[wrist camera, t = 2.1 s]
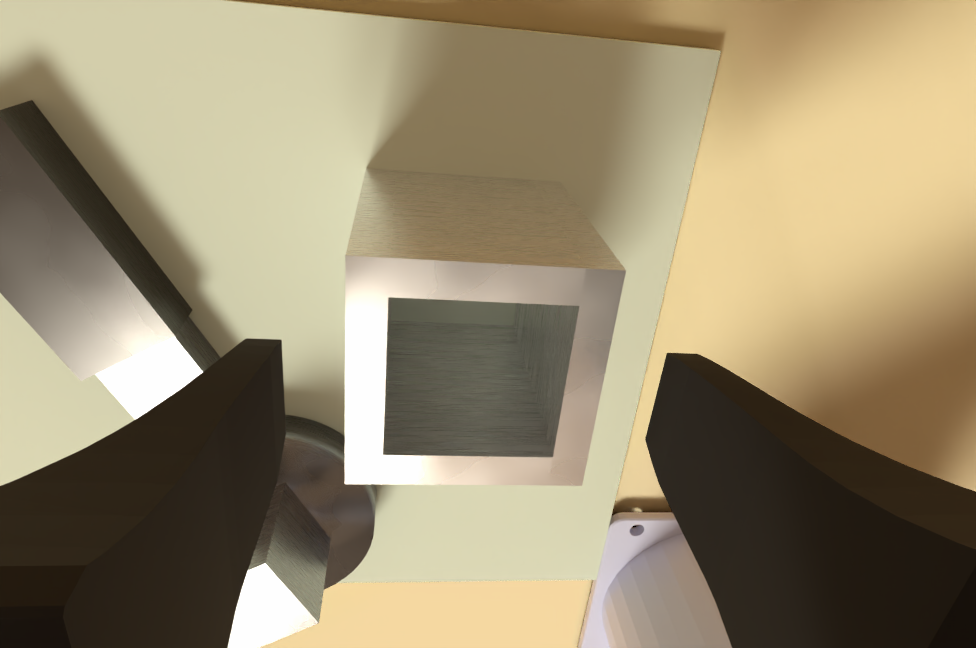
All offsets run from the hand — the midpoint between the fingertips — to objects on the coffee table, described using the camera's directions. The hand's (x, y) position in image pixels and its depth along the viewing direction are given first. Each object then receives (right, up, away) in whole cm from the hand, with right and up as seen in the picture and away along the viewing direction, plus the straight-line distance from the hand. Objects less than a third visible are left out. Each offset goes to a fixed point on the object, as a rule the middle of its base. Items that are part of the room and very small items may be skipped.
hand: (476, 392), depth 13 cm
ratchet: (-8, 0, +6) cm, 10 cm away
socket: (-1, +3, +6) cm, 6 cm away
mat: (-6, +1, +7) cm, 9 cm away
